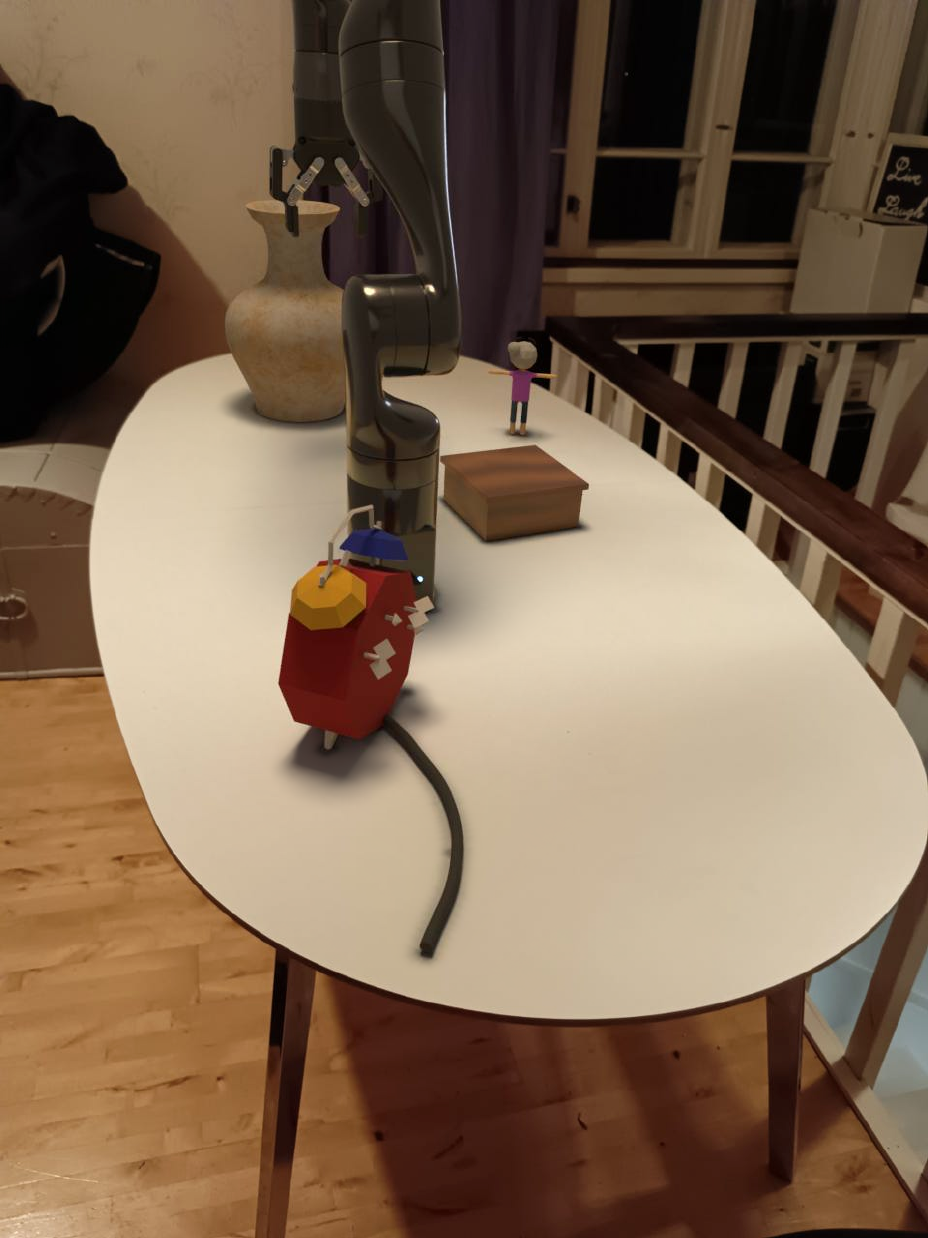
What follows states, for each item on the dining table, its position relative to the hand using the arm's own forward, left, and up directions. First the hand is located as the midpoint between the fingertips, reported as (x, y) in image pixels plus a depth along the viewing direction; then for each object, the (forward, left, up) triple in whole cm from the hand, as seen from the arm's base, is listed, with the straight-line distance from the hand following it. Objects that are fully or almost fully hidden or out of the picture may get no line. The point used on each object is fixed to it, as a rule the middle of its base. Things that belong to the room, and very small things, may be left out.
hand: (327, 236), depth 125 cm
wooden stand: (-29, -15, -29) cm, 44 cm away
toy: (-4, -29, -29) cm, 41 cm away
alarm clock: (-64, +17, -29) cm, 72 cm away
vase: (+18, -1, -29) cm, 34 cm away
